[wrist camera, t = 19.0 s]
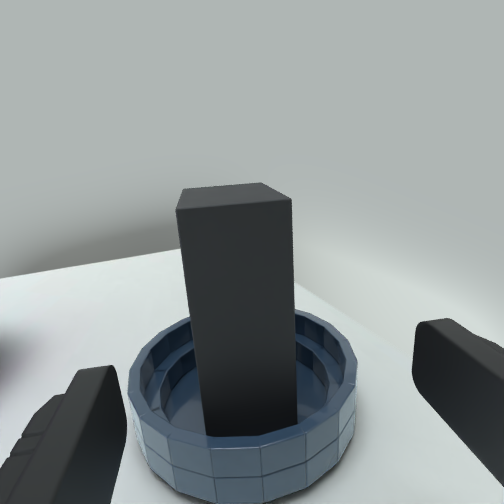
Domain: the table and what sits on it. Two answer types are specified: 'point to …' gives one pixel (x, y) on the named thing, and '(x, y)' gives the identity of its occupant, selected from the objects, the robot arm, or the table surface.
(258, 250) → the dark grey upright block
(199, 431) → the bowl
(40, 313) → the table surface
